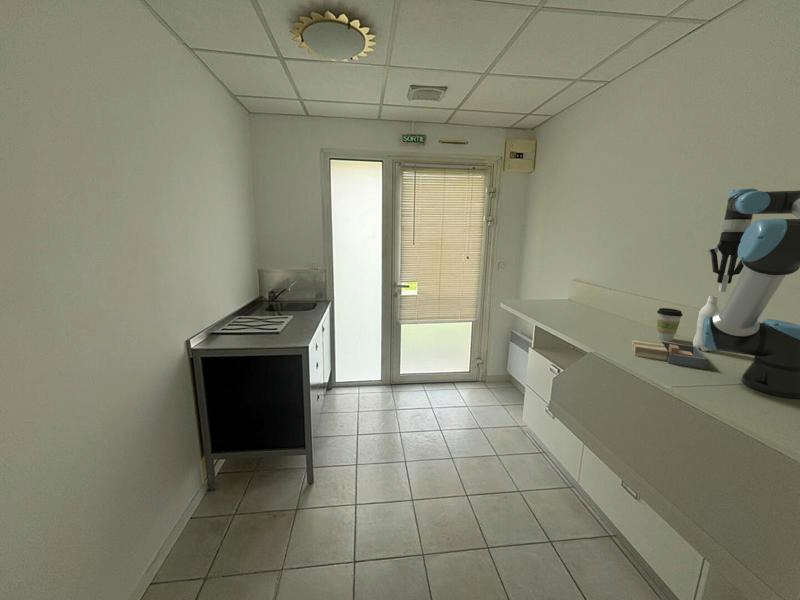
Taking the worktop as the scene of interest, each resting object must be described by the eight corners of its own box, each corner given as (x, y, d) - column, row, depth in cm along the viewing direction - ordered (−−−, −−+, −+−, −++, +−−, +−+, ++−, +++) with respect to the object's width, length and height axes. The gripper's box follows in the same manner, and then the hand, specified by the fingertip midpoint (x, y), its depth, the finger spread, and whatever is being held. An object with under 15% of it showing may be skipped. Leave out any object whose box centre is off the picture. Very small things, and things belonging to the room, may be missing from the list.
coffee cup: (648, 337, 167) (653, 308, 163) (659, 335, 171) (664, 307, 168) (670, 343, 158) (676, 313, 155) (681, 340, 162) (687, 311, 159)
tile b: (679, 353, 136) (678, 358, 137) (693, 355, 134) (692, 360, 135) (676, 349, 140) (675, 355, 141) (690, 351, 138) (689, 357, 139)
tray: (706, 369, 128) (708, 359, 127) (667, 363, 133) (669, 353, 133) (694, 355, 143) (696, 346, 142) (659, 349, 149) (661, 341, 148)
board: (666, 360, 136) (668, 351, 135) (634, 355, 141) (635, 346, 140) (661, 351, 146) (662, 343, 145) (631, 347, 151) (632, 339, 151)
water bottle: (716, 352, 146) (729, 298, 141) (698, 351, 147) (710, 297, 142) (704, 347, 153) (716, 294, 148) (687, 346, 154) (698, 294, 149)
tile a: (669, 357, 138) (677, 358, 137) (671, 347, 137) (679, 348, 136) (667, 354, 142) (674, 355, 141) (669, 344, 141) (676, 345, 140)
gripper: (754, 231, 126) (740, 291, 131) (709, 231, 133) (698, 288, 138) (763, 231, 120) (748, 294, 125) (715, 231, 126) (703, 291, 131)
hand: (721, 291), depth 131 cm, fingers closed
